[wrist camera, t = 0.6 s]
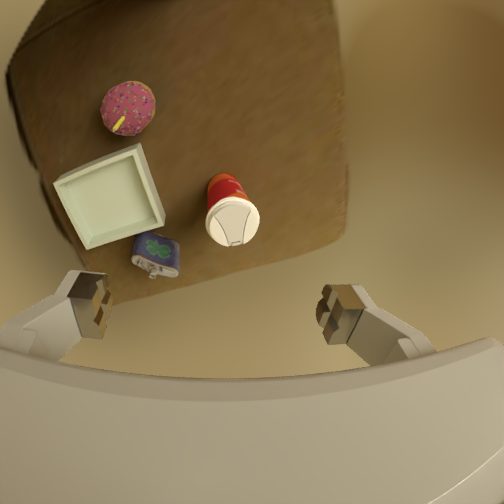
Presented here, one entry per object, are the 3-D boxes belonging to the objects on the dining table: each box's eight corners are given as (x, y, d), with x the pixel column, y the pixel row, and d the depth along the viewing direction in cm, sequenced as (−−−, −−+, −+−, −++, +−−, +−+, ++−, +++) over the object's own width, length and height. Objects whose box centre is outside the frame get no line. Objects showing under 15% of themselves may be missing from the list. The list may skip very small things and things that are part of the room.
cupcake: (156, 129, 41) (145, 147, 32) (108, 130, 39) (83, 149, 29) (161, 80, 36) (150, 81, 27) (110, 81, 34) (85, 85, 25)
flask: (181, 242, 55) (181, 277, 46) (175, 252, 56) (174, 289, 48) (139, 225, 51) (130, 259, 42) (134, 236, 52) (125, 271, 43)
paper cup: (245, 202, 53) (262, 244, 41) (205, 209, 52) (210, 253, 41) (242, 163, 48) (259, 196, 37) (198, 170, 47) (201, 205, 36)
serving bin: (61, 175, 41) (53, 183, 38) (140, 142, 42) (135, 148, 38) (91, 238, 50) (86, 249, 47) (165, 214, 51) (164, 225, 47)
